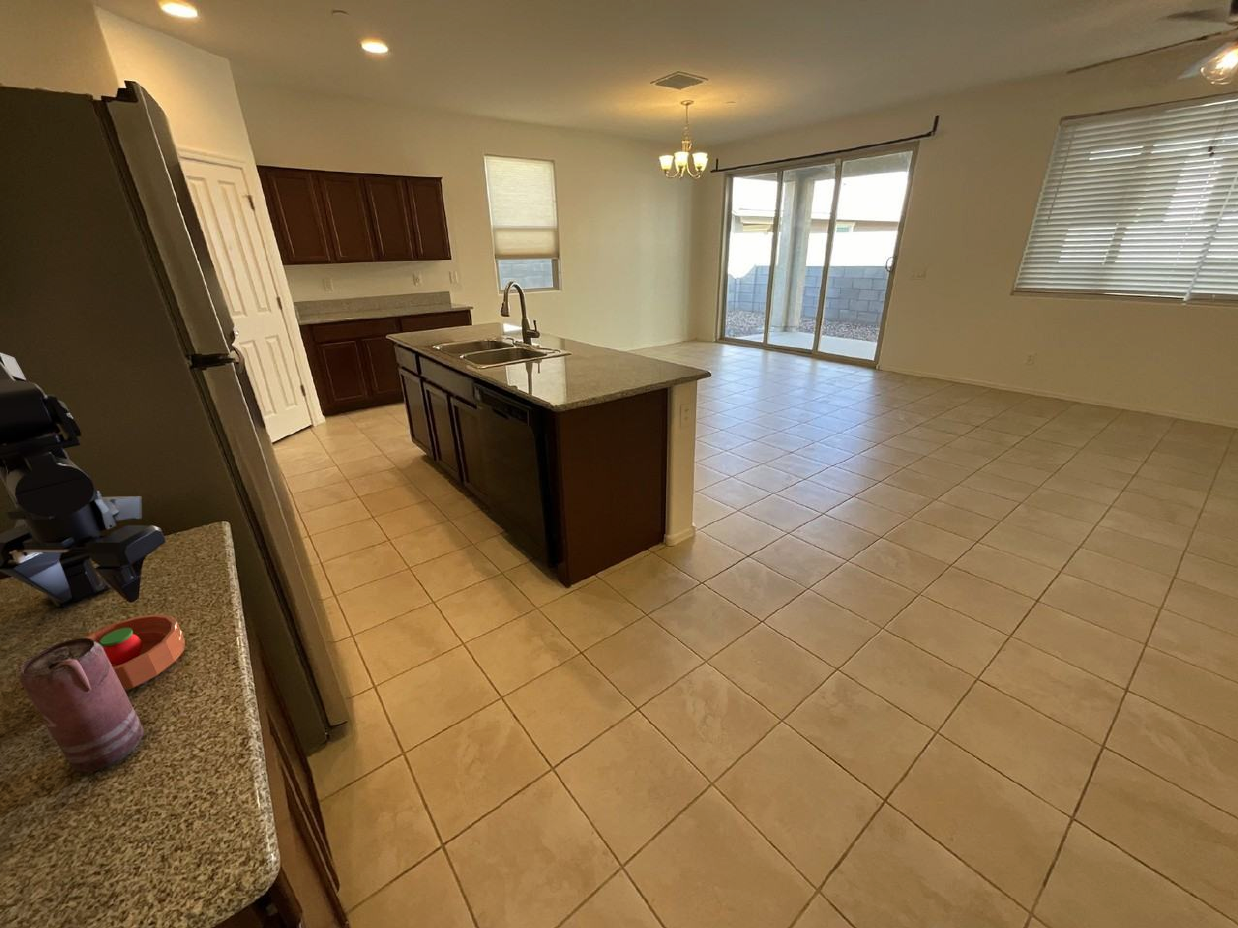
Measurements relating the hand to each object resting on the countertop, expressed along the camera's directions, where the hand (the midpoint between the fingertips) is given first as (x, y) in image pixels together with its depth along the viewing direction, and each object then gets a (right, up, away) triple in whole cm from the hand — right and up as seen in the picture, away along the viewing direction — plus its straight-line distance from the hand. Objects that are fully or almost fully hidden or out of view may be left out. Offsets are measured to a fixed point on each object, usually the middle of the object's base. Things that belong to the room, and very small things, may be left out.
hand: (100, 600), depth 66 cm
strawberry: (0, -10, +4) cm, 10 cm away
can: (+10, -15, -8) cm, 20 cm away
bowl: (0, -10, +4) cm, 11 cm away
